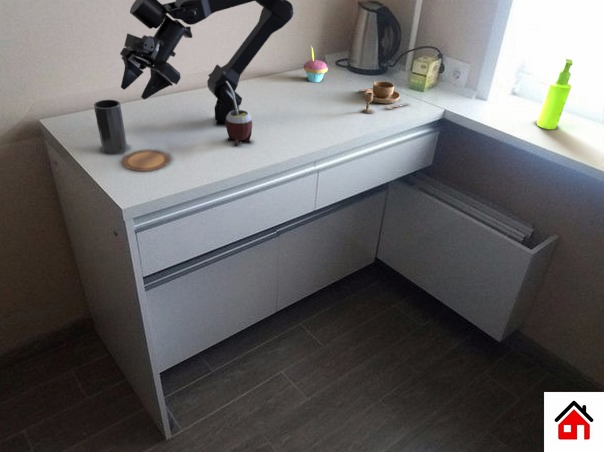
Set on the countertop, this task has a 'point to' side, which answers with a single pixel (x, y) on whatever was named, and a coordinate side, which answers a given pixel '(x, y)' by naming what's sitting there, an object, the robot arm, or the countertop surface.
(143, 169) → the trivet
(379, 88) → the place setting
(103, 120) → the grey metal tumbler
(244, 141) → the mate gourd
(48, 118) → the countertop surface
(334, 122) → the countertop surface
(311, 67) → the cupcake
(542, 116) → the soap dispenser
